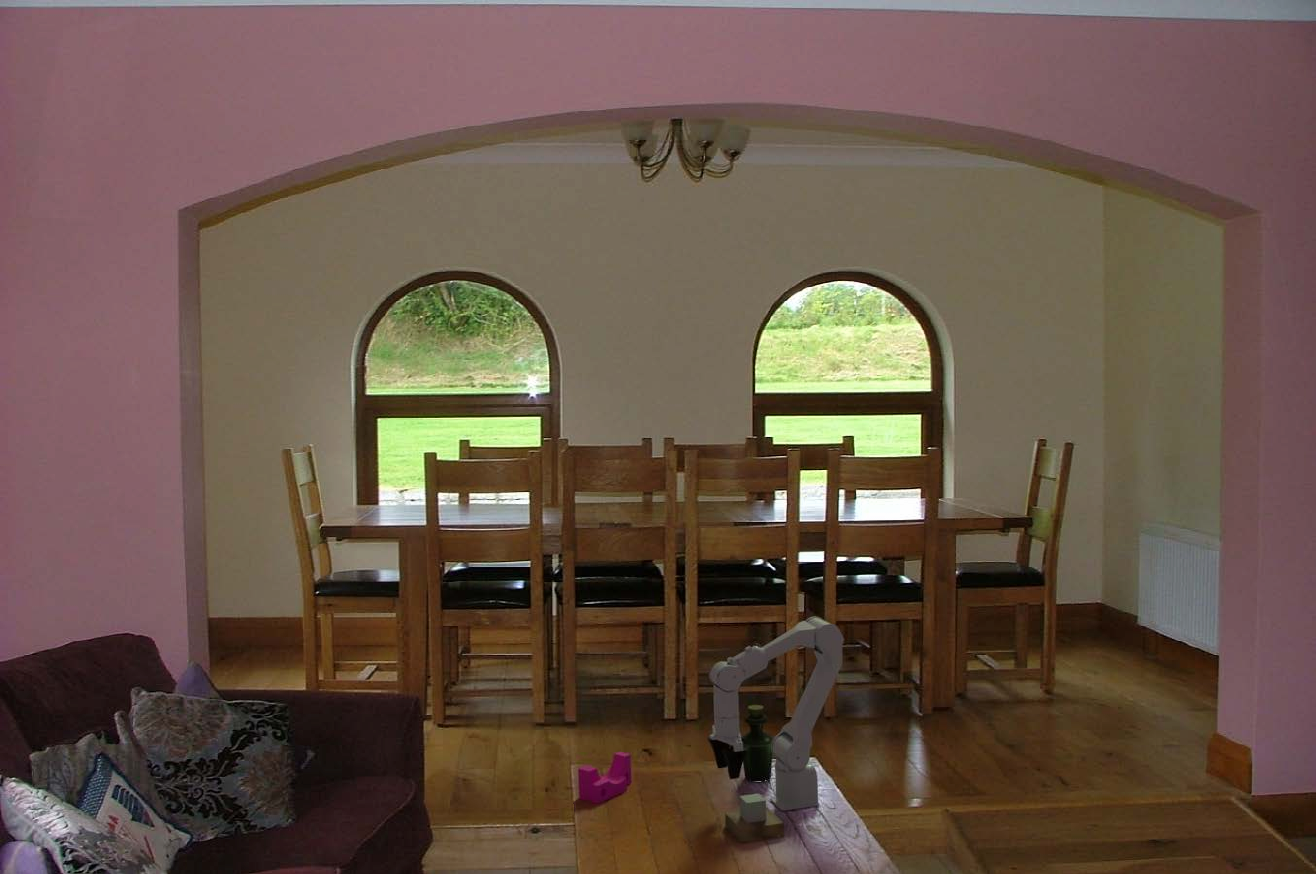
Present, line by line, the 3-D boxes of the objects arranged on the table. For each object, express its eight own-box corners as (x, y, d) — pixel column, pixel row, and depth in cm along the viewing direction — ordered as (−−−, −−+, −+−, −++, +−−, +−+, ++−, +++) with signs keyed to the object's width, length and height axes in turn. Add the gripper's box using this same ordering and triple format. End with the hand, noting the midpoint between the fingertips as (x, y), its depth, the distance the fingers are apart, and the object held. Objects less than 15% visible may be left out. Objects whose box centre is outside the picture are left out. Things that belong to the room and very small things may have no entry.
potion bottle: (778, 782, 298) (776, 710, 297) (746, 785, 297) (744, 713, 296) (769, 771, 306) (767, 701, 305) (737, 774, 305) (735, 704, 304)
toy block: (598, 804, 288) (597, 773, 288) (579, 798, 292) (578, 768, 292) (639, 785, 300) (638, 756, 299) (620, 780, 304) (619, 751, 303)
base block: (767, 819, 274) (766, 807, 274) (784, 836, 265) (783, 822, 265) (725, 826, 271) (725, 813, 271) (741, 843, 262) (740, 829, 262)
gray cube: (759, 813, 271) (758, 793, 270) (766, 820, 266) (765, 800, 266) (740, 815, 269) (739, 796, 269) (747, 823, 265) (746, 803, 265)
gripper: (699, 708, 283) (701, 765, 284) (721, 726, 270) (723, 785, 271) (727, 705, 286) (729, 761, 287) (750, 722, 272) (752, 781, 273)
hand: (728, 772), depth 279 cm, fingers open, 7 cm apart
